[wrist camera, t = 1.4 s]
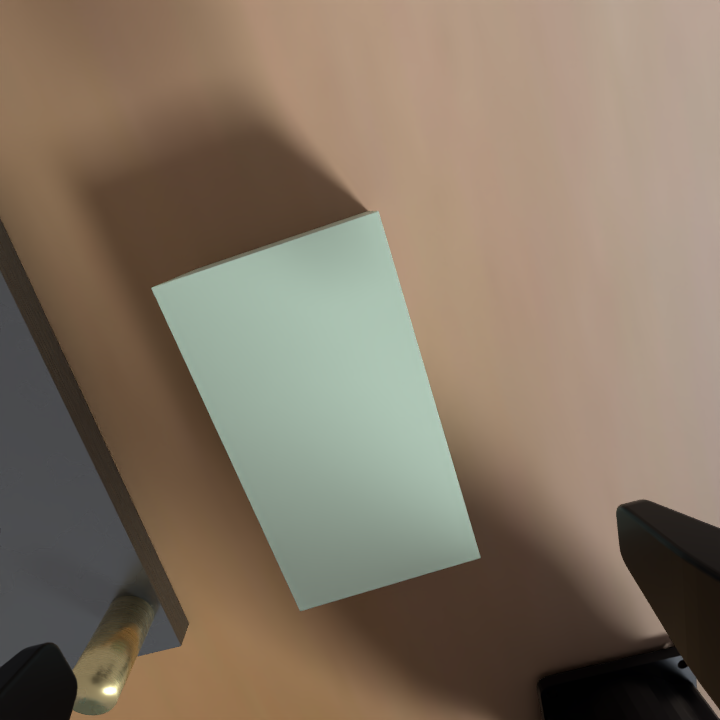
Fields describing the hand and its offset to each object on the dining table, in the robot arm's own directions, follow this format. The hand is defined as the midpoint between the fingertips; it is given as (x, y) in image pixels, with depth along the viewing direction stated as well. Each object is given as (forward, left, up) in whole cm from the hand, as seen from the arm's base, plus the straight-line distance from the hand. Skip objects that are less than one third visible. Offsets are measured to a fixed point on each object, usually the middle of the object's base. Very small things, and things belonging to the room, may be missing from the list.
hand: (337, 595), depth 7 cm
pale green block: (0, 0, -9) cm, 9 cm away
